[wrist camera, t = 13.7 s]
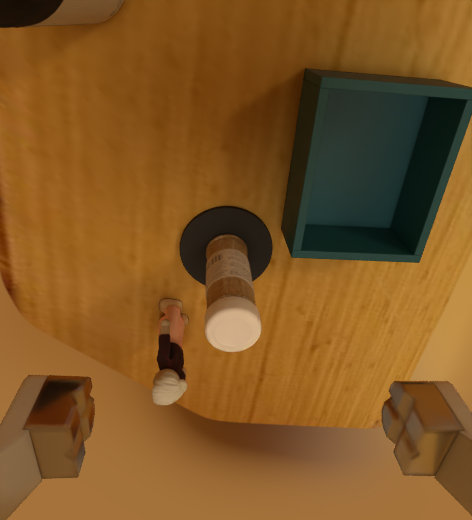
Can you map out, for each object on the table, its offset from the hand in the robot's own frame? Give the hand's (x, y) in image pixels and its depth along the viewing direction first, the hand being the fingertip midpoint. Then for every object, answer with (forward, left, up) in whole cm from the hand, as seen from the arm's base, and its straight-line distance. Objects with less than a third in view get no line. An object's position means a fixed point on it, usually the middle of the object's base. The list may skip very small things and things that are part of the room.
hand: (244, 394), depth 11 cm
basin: (+2, +13, -31) cm, 34 cm away
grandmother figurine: (+22, -4, -31) cm, 38 cm away
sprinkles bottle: (+12, +1, -31) cm, 33 cm away
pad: (+12, +1, -31) cm, 34 cm away
